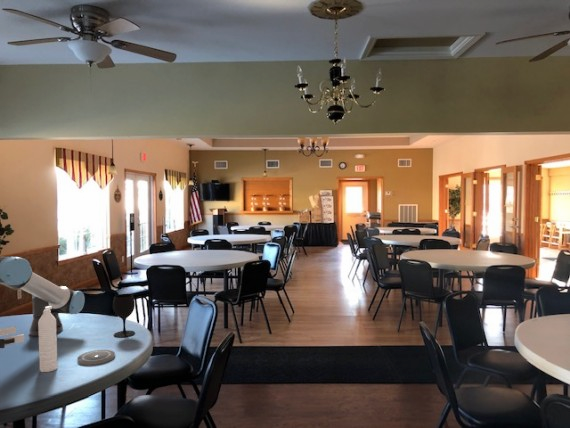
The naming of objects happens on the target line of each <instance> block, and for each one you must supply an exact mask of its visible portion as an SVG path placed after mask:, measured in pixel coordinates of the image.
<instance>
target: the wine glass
mask: <svg viewBox="0 0 570 428" xmlns="http://www.w3.org/2000/svg"><path fill="white" fill-rule="evenodd" d="M135 303H136V302H135V298H134V295H133V294H131V293H121V294H116V295H115V296H114V297H113V301H112V309H113V312H114V314H115V315H116V316H117V318H120V319H121V320H122V325H123V328H122V330H120V331H117V332H115V333H114V334H113V337H114V338H116V339H117V338H118V339H120V338H121V339H123V338H130V337H133V336H134V335H135V334H136V331H134V330H127V329H126V320H127V319H128V318H129V317H130V316H131V315H132V314H133V312H134V311H135V305H136V304H135Z"/></svg>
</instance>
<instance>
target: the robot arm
mask: <svg viewBox="0 0 570 428" xmlns="http://www.w3.org/2000/svg"><path fill="white" fill-rule="evenodd" d="M0 285H3V286H5V287H7V288H9V289H12V290H22V291H24V292H26V293H29V294H31V295H32V297H31V305H32V321H31V324H30V328H29V335H30V336H33V337H39V330H38V322H39V319H40V318H41V316H42V315H43V312H44V310H45V307H47V306H52V309H50V311H51V312H50V313H51V314H52V315H53V316H54V317H55V319H56V334H58V333H60V332H62V331H63V329H64V328H63V327H64V326H63V323H62V320H61V318H60V316H59V314H65V315H66V314H68V315H77V314H79V313H81V311H82V310H83V308H84V306H85V300H86V299H85V294H84V293H83V292H82V291H81V290H73V289H71V288H69V287H67V286H63V285H60V286H59V285H57V284H56V283H53V282H51V281H50V280H48V279H46V278H44V277H43V276H41V275H39V274H37V273H36V272H33V269H32V267H31V263H30V262H29V261H28V260H27V259H25V258H23V257H19V256H0ZM13 334H17V326H10V327H5V328H4V327H3V328H0V337H2V336H3V338H0V349H5V346H8V345H14V344H17V343H19V344H20V343H23V342H25V334H24V333H23V334H18V335H13ZM7 335H8V336H7ZM9 335H11V336H9ZM4 336H7V337H4Z"/></svg>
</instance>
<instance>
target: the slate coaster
mask: <svg viewBox="0 0 570 428" xmlns="http://www.w3.org/2000/svg"><path fill="white" fill-rule="evenodd" d="M115 358H116V353H115V352H114V351H113V350H112V349H111V350H110V349H95V350H90V351H88V352H83V353H82V354H80V355H79V356H78V357H77V358H76V360H77V364H79V365H81V366H99V365H104V364H107V363H109V362H111V361H112V360H114V359H115Z"/></svg>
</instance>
